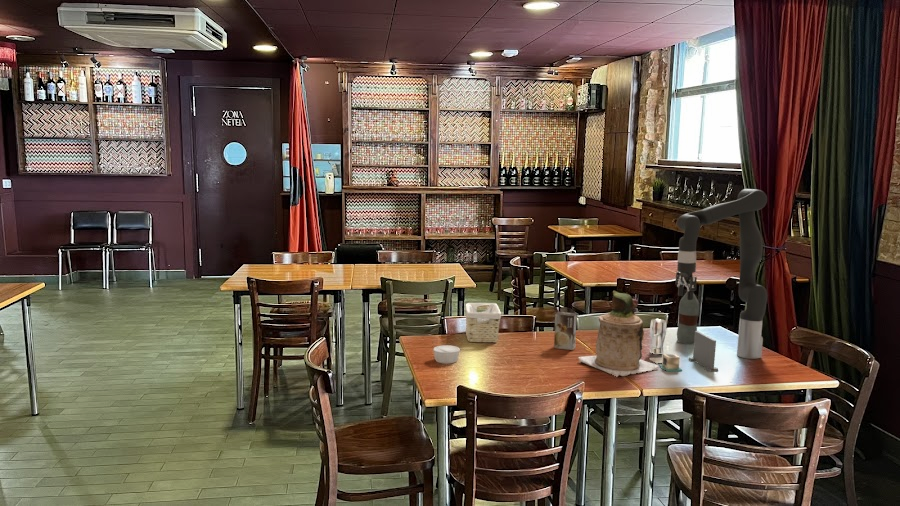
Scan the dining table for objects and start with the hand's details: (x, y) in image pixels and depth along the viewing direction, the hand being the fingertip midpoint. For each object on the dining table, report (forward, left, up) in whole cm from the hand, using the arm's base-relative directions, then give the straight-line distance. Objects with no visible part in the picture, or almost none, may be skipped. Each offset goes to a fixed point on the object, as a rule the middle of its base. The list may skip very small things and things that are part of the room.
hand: (685, 297), depth 293 cm
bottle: (-16, -28, -28) cm, 42 cm away
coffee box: (+47, -20, -28) cm, 58 cm away
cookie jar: (+32, +9, -28) cm, 43 cm away
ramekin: (+104, -2, -28) cm, 108 cm away
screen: (-6, +9, -28) cm, 30 cm away
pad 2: (+11, +13, -28) cm, 32 cm away
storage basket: (+82, -40, -28) cm, 95 cm away
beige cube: (+11, +13, -27) cm, 32 cm away
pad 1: (+11, +3, -28) cm, 30 cm away
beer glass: (+7, -10, -28) cm, 30 cm away
